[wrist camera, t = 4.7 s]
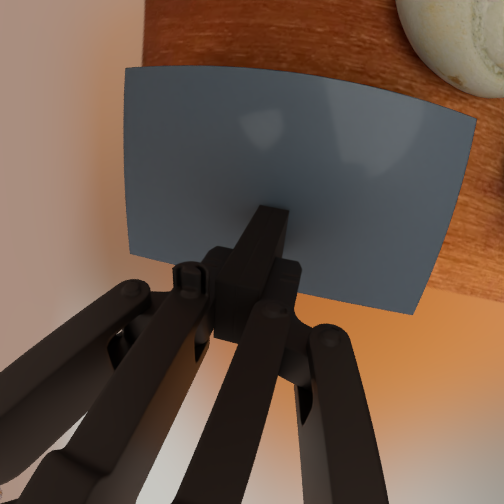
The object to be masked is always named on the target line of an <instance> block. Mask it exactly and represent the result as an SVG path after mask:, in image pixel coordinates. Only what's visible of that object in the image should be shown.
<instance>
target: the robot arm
mask: <svg viewBox="0 0 504 504" xmlns="http://www.w3.org/2000/svg"><path fill="white" fill-rule="evenodd" d="M288 217H289V210H284V209H279V208H274V207H268V206H263V205H259V207H258V209H257V210H256V212H255V213H254V215H253V217H252V218H251V220H250V222H249V223H248V225H247V227H246V228H245V230H244V232H243V233H242V235H241V237H240V238H239V240H238V242H237V243H236V245H235V247H234V248H233V249H232V248H227V247H222V246H216V247H214V248H213V249H211V250H209V251H208V253H207V254H206V255H205V257H204V258H203V260H202V261H201V262H195V261H187V262H182V263H179V264H177V265H175V266H174V267H173V268H172V269H173V286H174V287H173V289H172V290H171V291H169V292H153V291H150V287H149V285H148V284H147V283H146V282H145V281H142V280H139V279H130V280H126V281H123V282H121V283H119V284H118V285H116V286H115V287H114V288H112V289H111V290H110V291H108V292H107V293H106V294H104V295H102V296H101V297H100V298H98V299H97V300H96V301H94V302H93V303H91V304H90V305H89V306H87V307H86V308H84V309H83V310H82V311H80V312H79V313H78V314H76V315H75V316H73V317H72V318H71V319H69V320H68V321H67V322H65V323H64V324H63V325H61V326H60V327H58V328H57V329H56V330H55V331H53V332H52V333H51V334H49V335H48V336H47V337H45V338H44V339H43V340H41V341H40V342H39V343H37V344H36V345H35V346H33V347H32V348H31V349H30V350H28V351H27V352H26V353H24V355H22V356H20V357H19V358H18V359H17V360H15V361H14V362H13V363H12V364H10V365H9V366H8V367H7V368H5V369H4V370H3V371H2V372H0V485H2V484H4V483H7V482H9V481H10V480H12V479H14V478H15V477H17V476H18V475H20V474H21V473H22V472H23V471H24V470H26V469H27V468H28V467H29V466H30V465H31V464H32V463H33V462H35V460H37V459H38V458H39V457H40V456H41V455H42V454H43V453H44V452H45V451H46V450H47V449H48V448H49V447H51V446H52V445H53V444H54V443H55V442H56V441H57V440H58V439H59V438H60V437H61V436H62V435H63V434H64V433H65V432H66V431H67V430H69V429H70V428H71V427H72V426H73V425H74V424H75V423H76V422H77V421H78V420H79V419H80V418H81V417H82V416H83V415H85V414H86V412H87V414H86V416H85V417H84V418H83V420H82V422H81V423H80V425H79V426H78V428H77V429H76V431H75V432H74V434H73V436H72V437H71V439H70V441H69V442H68V444H67V445H66V446H65V447H64V448H63V449H60V450H53V451H51V452H49V453H48V454H47V455H46V456H45V457H44V458H43V459H42V461H41V463H40V464H39V466H38V467H37V469H36V471H35V472H34V474H33V475H32V477H31V479H30V480H29V482H28V483H27V485H26V487H25V488H24V490H23V492H22V493H21V495H20V497H19V498H18V499H15V500H11V501H8V502H5V503H1V504H135V503H136V500H137V497H138V495H139V493H140V491H141V489H142V487H143V484H144V483H145V481H146V478H147V476H148V474H149V472H150V470H151V468H152V466H153V464H154V462H155V459H156V457H157V455H158V453H159V451H160V449H161V447H162V445H163V443H164V440H165V439H166V437H167V434H168V432H169V430H170V428H171V426H172V424H173V422H174V420H175V417H176V416H177V413H178V411H179V409H180V407H181V405H182V403H183V401H184V399H185V397H186V395H187V392H188V390H189V388H190V386H191V384H192V381H193V380H194V378H195V376H196V373H197V371H198V369H199V367H200V365H201V363H202V361H203V359H204V356H205V355H206V352H207V350H208V348H209V344H210V342H209V341H210V335H211V333H212V331H213V329H214V338H217V339H221V340H225V341H229V342H233V343H237V344H238V346H237V349H236V351H235V354H234V356H233V359H232V362H231V364H230V366H229V369H228V372H227V374H226V376H225V379H224V381H223V384H222V386H221V389H220V391H219V393H218V396H217V399H216V401H215V403H214V406H213V408H212V411H211V413H210V416H209V418H208V421H207V423H206V425H205V428H204V430H203V433H202V435H201V438H200V440H199V442H198V445H197V447H196V450H195V452H194V454H193V456H192V459H191V461H190V464H189V466H188V468H187V471H186V473H185V476H184V478H183V480H182V482H181V485H180V487H179V490H178V492H177V494H176V496H175V498H174V500H173V502H172V503H171V504H241V502H242V499H243V496H244V493H245V490H246V486H247V483H248V480H249V477H250V473H251V470H252V467H253V464H254V460H255V457H256V453H257V450H258V446H259V443H260V439H261V435H262V432H263V429H264V425H265V422H266V418H267V414H268V411H269V407H270V403H271V400H272V396H273V392H274V388H275V384H276V380H277V377H278V376H280V377H282V378H284V379H286V380H288V381H290V382H291V383H293V384H294V391H295V402H296V412H297V424H298V436H299V447H300V460H301V472H302V486H303V500H304V504H389V501H388V496H387V490H386V485H385V480H384V475H383V470H382V465H381V460H380V456H379V451H378V447H377V442H376V438H375V434H374V429H373V425H372V421H371V417H370V412H369V409H368V405H367V400H366V397H365V392H364V389H363V385H362V381H361V377H360V373H359V370H358V366H357V362H356V359H355V355H354V352H353V348H352V345H351V341H350V338H349V336H348V334H347V333H346V332H345V331H344V330H343V329H342V328H340V327H338V326H336V325H332V324H319V325H317V326H315V327H313V328H312V327H310V326H307V325H306V324H304V323H302V322H301V321H300V320H299V319H298V318H297V316H296V315H295V312H294V306H295V301H296V296H297V292H298V287H299V283H300V278H301V273H302V267H301V265H300V263H299V261H294V260H289V259H284V258H282V255H283V249H284V243H285V236H286V230H287V224H288ZM120 330H122V331H121V332H120V333H119V334H117V333H118V332H119V331H120ZM1 498H2V490H1V489H0V499H1Z"/></svg>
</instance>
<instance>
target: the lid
mask: <svg viewBox="0 0 504 504" xmlns="http://www.w3.org/2000/svg"><path fill="white" fill-rule="evenodd" d="M476 121H477V119H476V118H474V117H471V116H468V115H466V114H463V113H460V112H457V111H455V110H452V109H449V108H446V107H443V106H440V105H437V104H434V103H431V102H428V101H424V100H421V99H418V98H414V97H411V96H407V95H404V94H400V93H396V92H393V91H389V90H385V89H381V88H377V87H372V86H368V85H363V84H359V83H354V82H349V81H344V80H339V79H333V78H328V77H322V76H316V75H309V74H302V73H295V72H287V71H278V70H269V69H258V68H245V67H229V66H193V65H183V66H148V67H132V68H126V69H125V87H124V178H125V198H126V214H127V227H128V237H129V249H130V254H133V255H137V256H141V257H145V258H149V259H153V260H157V261H161V262H166V263H169V264H174V265H177V264H179V263H182V262H187V261H195V262H201V261H202V260H203V258H204V257H205V255H206V254H207V253H208V251H209V250H211V249H213V248H214V247H216V246H222V247H227V248H232V249H233V248H234V247H235V245H236V243H237V242H238V240H239V238H240V237H241V235H242V233H243V232H244V230H245V228H246V227H247V225H248V223H249V222H250V220H251V218H252V217H253V215H254V213H255V212H256V210H257V209H258V207H259V205H263V206H268V207H274V208H279V209H284V210H289V217H288V224H287V230H286V236H285V243H284V249H283V255H282V258H284V259H289V260H294V261H299V263H300V265H301V267H302V273H301V278H300V283H299V287H298V293H303V294H308V295H313V296H317V297H322V298H327V299H332V300H337V301H341V302H346V303H351V304H357V305H362V306H367V307H372V308H377V309H382V310H387V311H393V312H398V313H403V314H409V315H413V314H414V311H415V309H416V307H417V305H418V303H419V300H420V298H421V296H422V294H423V291H424V289H425V287H426V284H427V282H428V280H429V277H430V275H431V272H432V270H433V267H434V265H435V262H436V260H437V257H438V254H439V252H440V249H441V246H442V244H443V241H444V238H445V235H446V233H447V230H448V227H449V224H450V221H451V218H452V215H453V211H454V208H455V205H456V202H457V199H458V195H459V192H460V188H461V185H462V181H463V178H464V174H465V170H466V166H467V162H468V158H469V154H470V150H471V145H472V141H473V136H474V131H475V126H476Z"/></svg>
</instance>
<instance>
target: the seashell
mask: <svg viewBox="0 0 504 504" xmlns="http://www.w3.org/2000/svg"><path fill="white" fill-rule="evenodd" d="M395 1H396V7H397V11H398V15H399V18H400V21H401V24H402V26H403V29H404V31H405V34H406V36H407V38H408V40H409V42H410V44H411V46H412V47H413V49H414V51H415V52H416V54H417V55H418V56H419V58H420V59H421V60H422V61H423V62H424V63H425V64H426V65H427V66H428V67H429V68H430V69H431V70H432V71H433V72H434V73H435V74H437V75H438V76H439V77H440V78H442V79H443V80H444V81H446V82H447V83H449V84H451V85H452V86H454V87H456V88H457V89H459V90H461V91H463V92H466V93H468V94H471V95H474V96H478V97H483V98H504V0H395Z"/></svg>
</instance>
